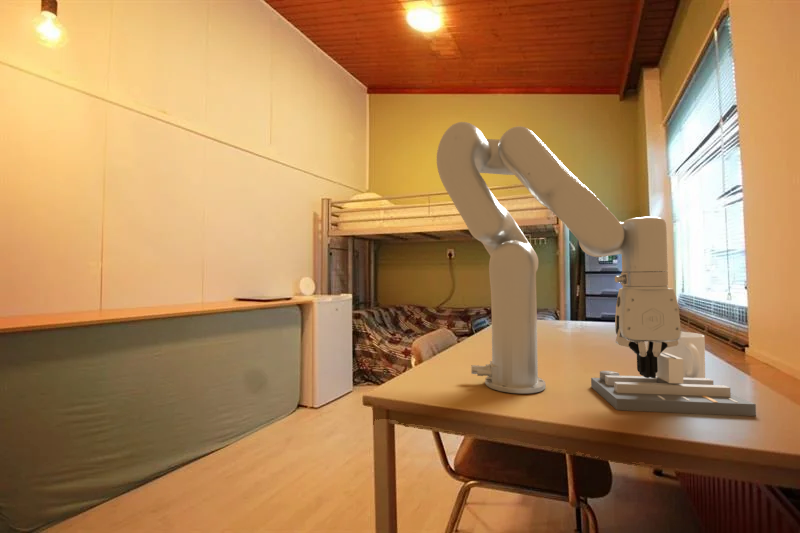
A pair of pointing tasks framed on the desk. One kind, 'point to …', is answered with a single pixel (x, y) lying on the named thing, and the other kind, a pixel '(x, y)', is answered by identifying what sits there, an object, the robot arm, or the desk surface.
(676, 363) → the fader
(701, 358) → the mug
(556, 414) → the desk surface
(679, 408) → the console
